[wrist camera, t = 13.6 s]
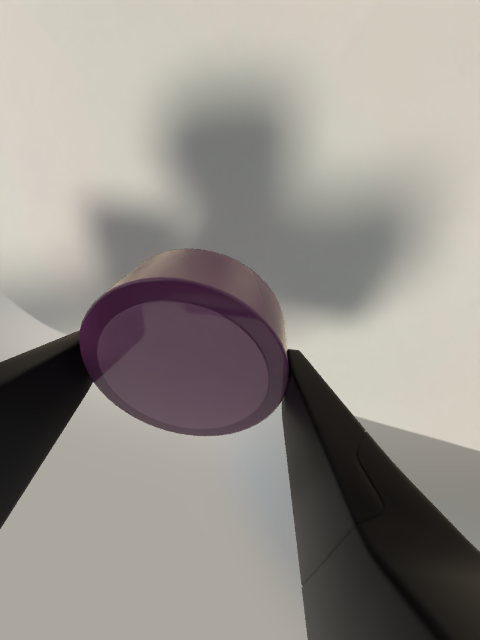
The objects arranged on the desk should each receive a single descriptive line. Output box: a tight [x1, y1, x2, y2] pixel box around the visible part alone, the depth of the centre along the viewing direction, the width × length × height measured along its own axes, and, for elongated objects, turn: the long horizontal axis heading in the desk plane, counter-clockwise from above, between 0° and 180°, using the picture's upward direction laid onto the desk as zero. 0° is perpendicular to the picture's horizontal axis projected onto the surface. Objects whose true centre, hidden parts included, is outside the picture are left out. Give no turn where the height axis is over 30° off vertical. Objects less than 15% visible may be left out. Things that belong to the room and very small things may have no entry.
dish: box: [79, 249, 289, 436], centre depth 8 cm, size 6×6×2 cm
